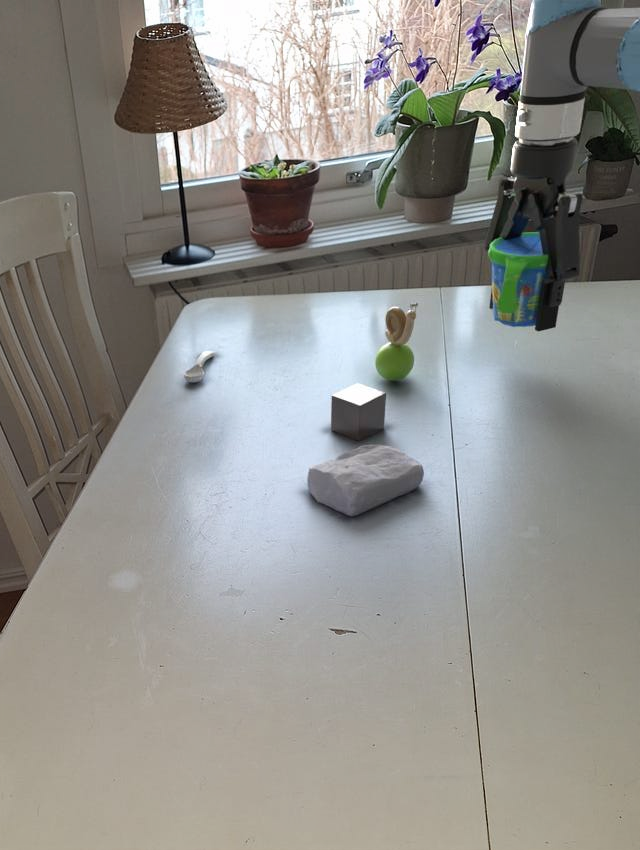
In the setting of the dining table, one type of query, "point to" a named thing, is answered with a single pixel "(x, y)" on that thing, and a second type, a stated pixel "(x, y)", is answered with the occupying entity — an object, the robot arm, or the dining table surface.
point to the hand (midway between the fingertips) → (521, 317)
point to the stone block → (364, 478)
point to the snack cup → (517, 278)
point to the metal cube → (358, 411)
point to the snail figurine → (397, 345)
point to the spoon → (198, 368)
